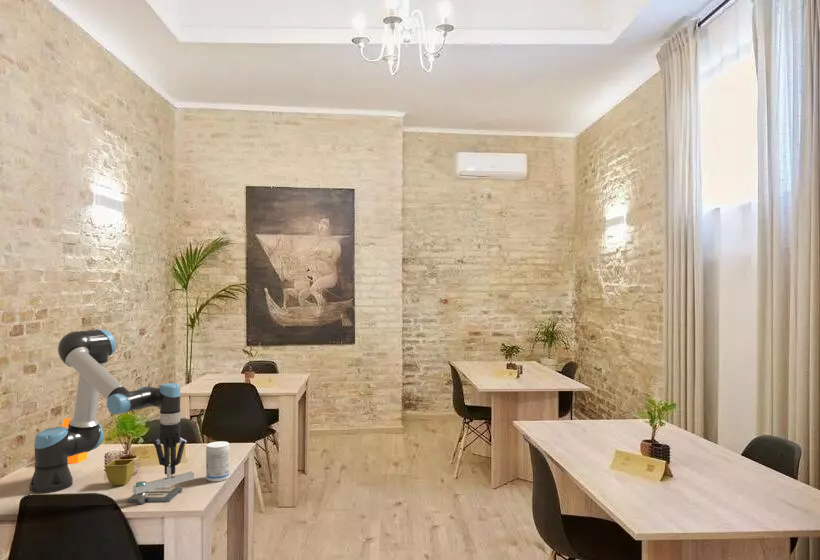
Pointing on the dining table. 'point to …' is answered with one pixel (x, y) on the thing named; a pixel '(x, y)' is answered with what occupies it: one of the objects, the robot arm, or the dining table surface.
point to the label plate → (158, 494)
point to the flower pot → (120, 471)
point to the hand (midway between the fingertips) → (169, 482)
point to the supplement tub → (217, 461)
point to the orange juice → (77, 457)
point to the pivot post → (141, 498)
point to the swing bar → (162, 482)
